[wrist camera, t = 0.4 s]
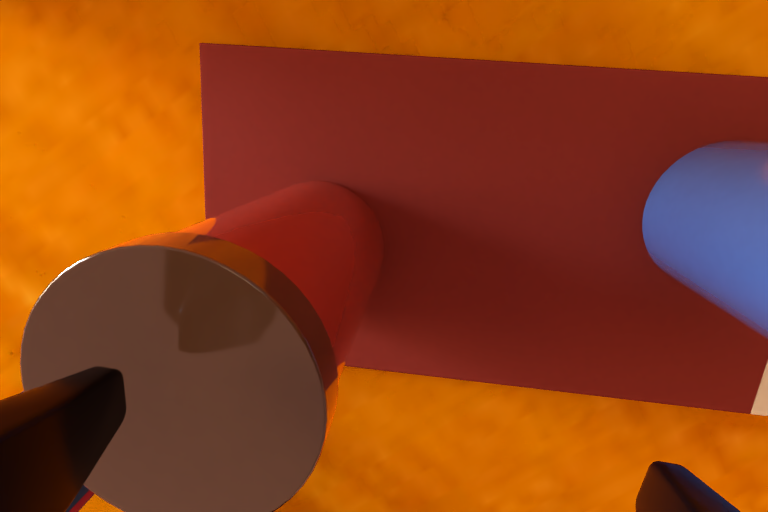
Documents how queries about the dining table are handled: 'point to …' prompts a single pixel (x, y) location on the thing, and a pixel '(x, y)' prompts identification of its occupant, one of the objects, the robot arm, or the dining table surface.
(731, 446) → the dining table surface
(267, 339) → the red canister
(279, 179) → the sorting mat
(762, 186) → the blue canister
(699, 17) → the dining table surface
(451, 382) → the dining table surface
